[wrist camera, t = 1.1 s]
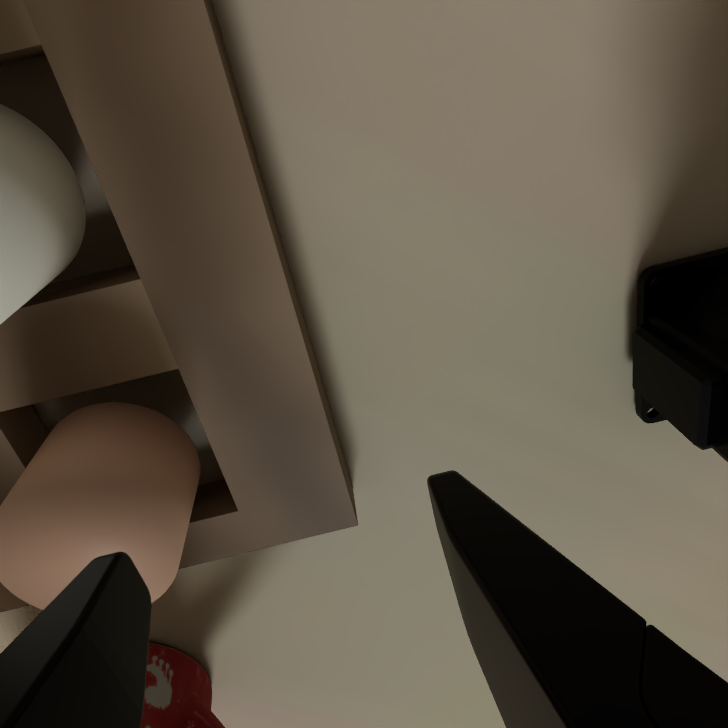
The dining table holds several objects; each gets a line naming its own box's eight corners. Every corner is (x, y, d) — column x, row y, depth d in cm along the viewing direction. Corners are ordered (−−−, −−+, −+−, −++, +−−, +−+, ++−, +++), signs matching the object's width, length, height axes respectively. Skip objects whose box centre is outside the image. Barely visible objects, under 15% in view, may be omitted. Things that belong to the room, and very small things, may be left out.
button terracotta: (168, 385, 18) (137, 462, 14) (220, 504, 20) (204, 595, 17) (14, 423, 18) (-55, 509, 14) (84, 537, 20) (39, 635, 17)
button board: (10, -697, 10) (-49, -859, 8) (353, 490, 23) (358, 525, 21) (-751, -510, 10) (-974, -635, 8) (20, 571, 23) (-3, 612, 21)
